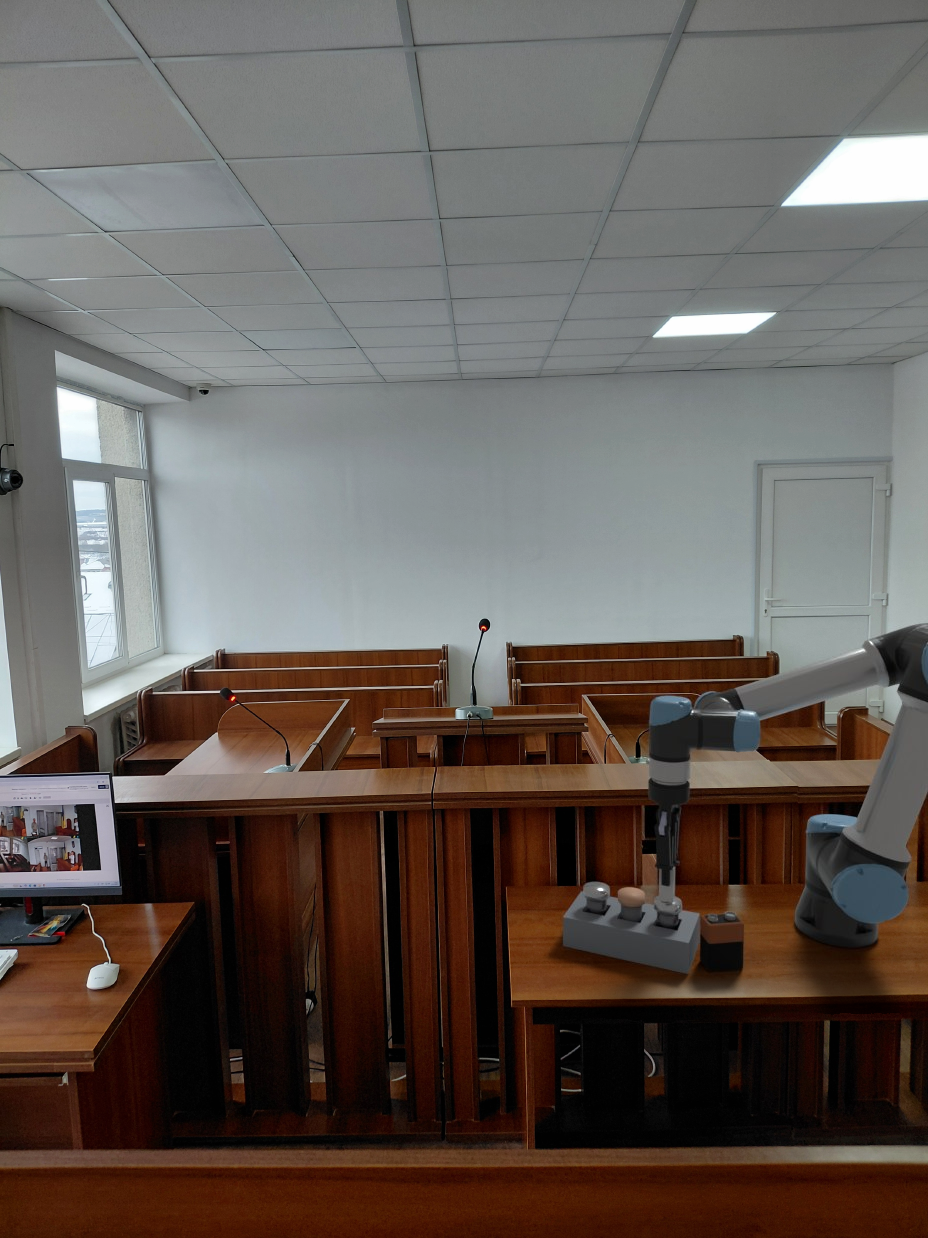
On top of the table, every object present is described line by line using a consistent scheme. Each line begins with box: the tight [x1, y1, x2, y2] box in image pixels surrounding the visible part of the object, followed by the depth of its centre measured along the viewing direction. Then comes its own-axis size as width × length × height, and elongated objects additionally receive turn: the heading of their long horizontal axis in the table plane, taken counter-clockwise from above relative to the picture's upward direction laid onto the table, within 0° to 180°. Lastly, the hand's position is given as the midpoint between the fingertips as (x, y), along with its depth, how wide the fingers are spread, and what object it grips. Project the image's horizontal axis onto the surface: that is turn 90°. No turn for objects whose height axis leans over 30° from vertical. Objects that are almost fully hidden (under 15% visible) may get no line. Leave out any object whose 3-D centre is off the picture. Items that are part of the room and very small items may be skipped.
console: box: [562, 890, 701, 975], centre depth 152 cm, size 24×12×6 cm, turn 64°
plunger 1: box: [582, 881, 611, 916], centre depth 155 cm, size 5×5×6 cm
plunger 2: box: [653, 895, 683, 931], centre depth 149 cm, size 5×5×6 cm
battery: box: [699, 910, 745, 973], centre depth 144 cm, size 4×7×10 cm, turn 96°
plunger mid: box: [617, 886, 646, 923], centre depth 152 cm, size 5×5×6 cm
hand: (666, 899), depth 148 cm, fingers closed
